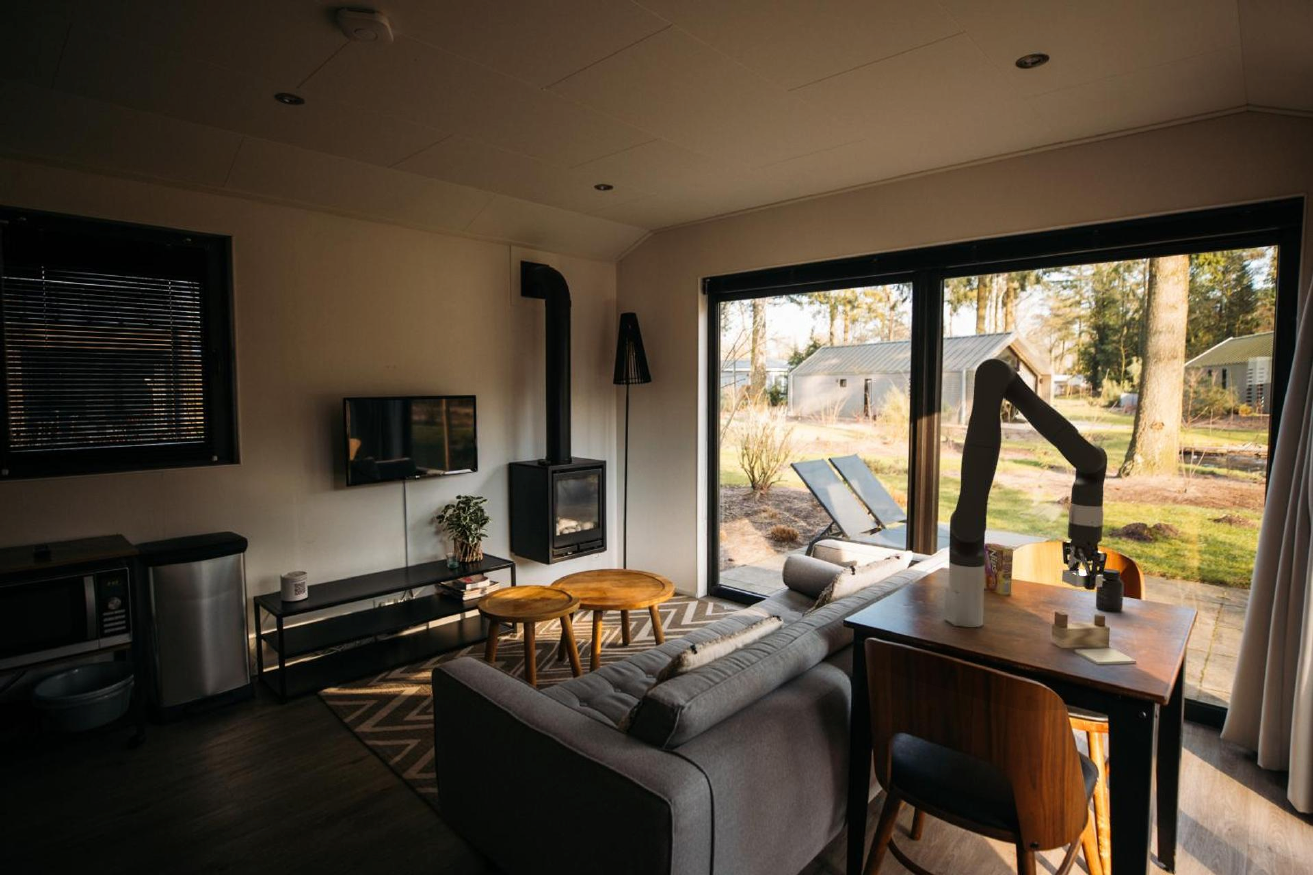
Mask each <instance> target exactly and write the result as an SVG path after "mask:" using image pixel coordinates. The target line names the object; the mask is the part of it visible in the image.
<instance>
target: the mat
mask: <svg viewBox="0 0 1313 875" xmlns="http://www.w3.org/2000/svg"><path fill="white" fill-rule="evenodd" d="M1074 653H1075V654H1078V655H1080V656H1081V657H1083V658H1085V659H1087V660H1089V661H1091V662H1092V663H1094V664H1096V665H1117V664H1118V665H1119V664H1121V665H1124V664H1137V659H1134V658H1132V657H1130V656H1128V655H1126V654H1123V653H1122V652H1120V651H1118V650H1116V649H1114V648H1090V649H1074Z"/></svg>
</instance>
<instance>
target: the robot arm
mask: <svg viewBox="0 0 1313 875" xmlns="http://www.w3.org/2000/svg"><path fill="white" fill-rule="evenodd" d="M973 378H974V380H973V395H972V396H973V397H972V405H971V406H972V407H971V412H970V416H969V420H968V425H967V429H966V435H965V439H964V443H963V449H962V455H961V465H960V489H959V494H958V499H957V502H956V506H955V509H954V511H953V512H952V514H951V515H950V521H949V547H948V549H949V550H948V553H949V554H948V555H949V556H948V558H949V559H948V562H949V563H948V586H946V587H945V588H944V590H945V591H944V592H945V593H944V620H945V621H947V622H949V623H950V624H952V625H953V626H955V627H964V628H979V627H982V626H983V623H984V620H983V619H984V597H985V596H984V594H985V593H984V592H985V588H984V567H985V544H986V543H985V542H986V541H985V539H986V538H985V536H986V532H987V516H988V503H989V496H990V492H991V488H992V485H993V482H994V479H995V475H996V472H997V467H998V462H999V458H1000V452H1001V448H1002V422H1001V420H1002V419H1001V413H1002V412H1001V411H1002V405H1003V401H1007V402H1008V403H1009V404H1011V405H1012V406H1013V407H1014V408H1015V409H1016V410H1017V411H1019V413H1020V414H1022V416H1023V417H1024V418H1025V420H1026V421H1028V423H1029V424H1030V426H1032V428H1033V429H1034V430H1036V431H1037V433H1038V434H1040V435H1041V436H1042V437H1043V438H1044V439H1045V440H1046V441H1047V442H1049V443H1050V444H1051V446H1054V447H1055V449H1057V451H1058V452H1059V453H1060V454H1061V455H1062V457H1064V458H1065V460H1066V461H1067V462H1068V464H1070V465H1071V466H1072V467H1073V468H1074V469H1075V479H1074V481H1073V484H1072V486H1071V487H1072V488H1071V496H1070V497H1071V498H1070V507H1069V511H1068V512H1069V513H1068V526H1067V529H1068V530H1067V538H1068V539H1069V540H1070V541H1062V542H1061V543H1062V544H1061V545H1062V559H1063V564H1064V565H1067V567H1068V570H1080V569H1079V568H1080V567H1081V565H1082V566H1083V567H1084V570H1085V571H1086V574H1087V575H1086V578H1085V587H1084V589H1085V590H1088V591H1091V590H1092V591H1093V590H1095V589H1096V587H1095V585H1096V583H1095V582H1096V576H1097V575H1103V573H1104V569H1106V564H1107V558H1108V554H1107V552H1102V551H1100V550H1099V546H1098V544H1099V543H1100V542H1102V540H1103V525H1104V507H1103V505H1104V483H1105V479H1106V474H1107V469H1108V468H1107V467H1108V454H1107V452H1106V451H1105V449H1104V448H1103V447H1101V446H1100V445H1097V444H1092V443H1090V442H1089V441H1088V439H1086V438H1085V437H1084V436H1082V435H1081V434H1080V432H1079V430H1078V428H1077V427H1076V426H1075V425H1074V424H1073V423H1072V422H1071V421H1069V420H1068V419H1067V418H1066V417H1064V416H1063V415H1062V414H1061V413H1060V412H1059V411H1058V410H1056V409H1055V408H1054V407H1053V406H1051V404H1048V403H1047V402H1046V400H1044V399H1042V397H1040V396H1039V395H1038V394H1037V392H1035V391H1034V390H1033V389H1032V388H1031V387H1030V386H1029V385H1028V384H1027V383H1026V382H1025V381H1024V379H1023V378H1022V377H1021V376H1020V374H1019V373H1018V371H1017V370H1016V369H1015V368H1014V366H1013V365H1012V364H1011V363H1010V362H1008V361H1006V360H1003V359H1000V358H997V357H996V358H988V359H984V360H983V361H982V362H980V364H979V365H978V366H977V368H976V370H975V373H974V377H973ZM1090 567H1091V568H1090Z"/></svg>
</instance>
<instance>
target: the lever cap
mask: <svg viewBox="0 0 1313 875" xmlns="http://www.w3.org/2000/svg"><path fill="white" fill-rule="evenodd" d="M1061 574H1062V576H1061V581H1062V582H1063V583H1066V584H1068V585H1070V586H1072V587H1075V588H1085V578H1086V575H1087V574H1086V571H1085V569H1079V570H1069V569H1062V573H1061ZM1102 580H1103V575H1097V576H1096V582H1095V583H1096V585H1095V588H1097V587H1102Z"/></svg>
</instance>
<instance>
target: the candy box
mask: <svg viewBox="0 0 1313 875" xmlns="http://www.w3.org/2000/svg"><path fill="white" fill-rule="evenodd" d="M1013 562H1014V548H1012V547H1009V546H1005V545H1001V544H998V543H995V542H989V543H988V542H987V543H985V567H984V590H988V591H990V592H993V593H996V594H997V595H1001V596H1004V595H1005V596H1006V595H1007V596H1008V595H1012V582H1013V581H1012V580H1013V564H1014V563H1013Z"/></svg>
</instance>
